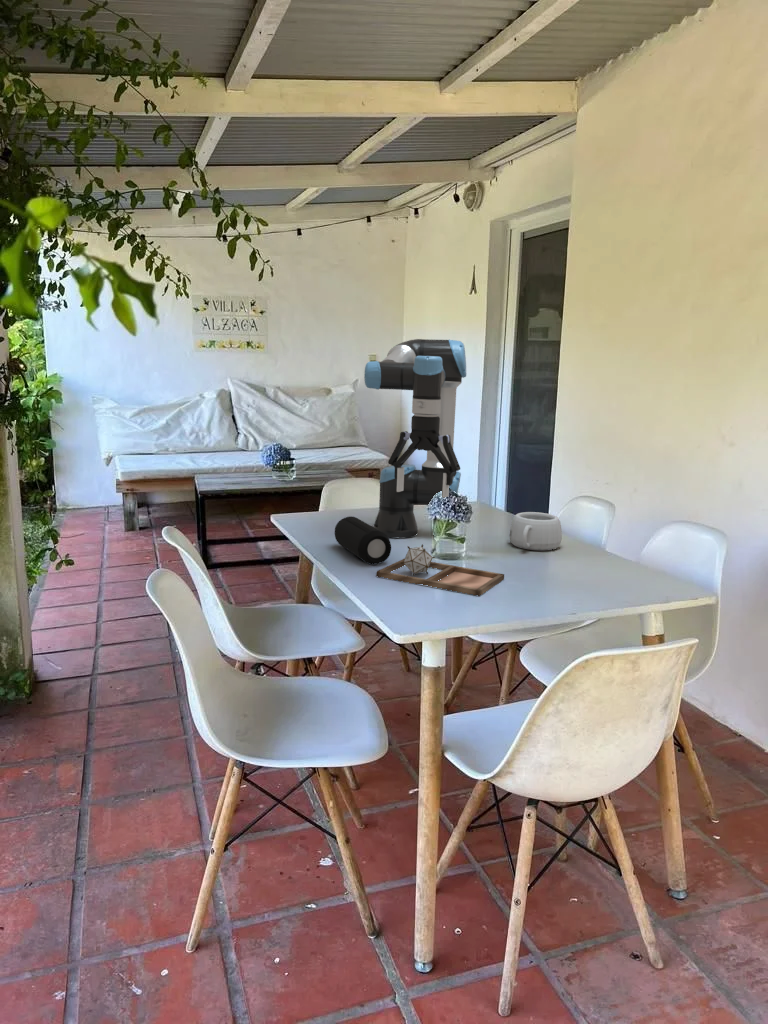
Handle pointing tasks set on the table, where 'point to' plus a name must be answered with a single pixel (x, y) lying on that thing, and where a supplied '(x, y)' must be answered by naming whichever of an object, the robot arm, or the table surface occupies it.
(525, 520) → the mug
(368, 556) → the portable speaker
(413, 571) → the game die
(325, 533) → the table surface
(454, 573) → the dice tray
